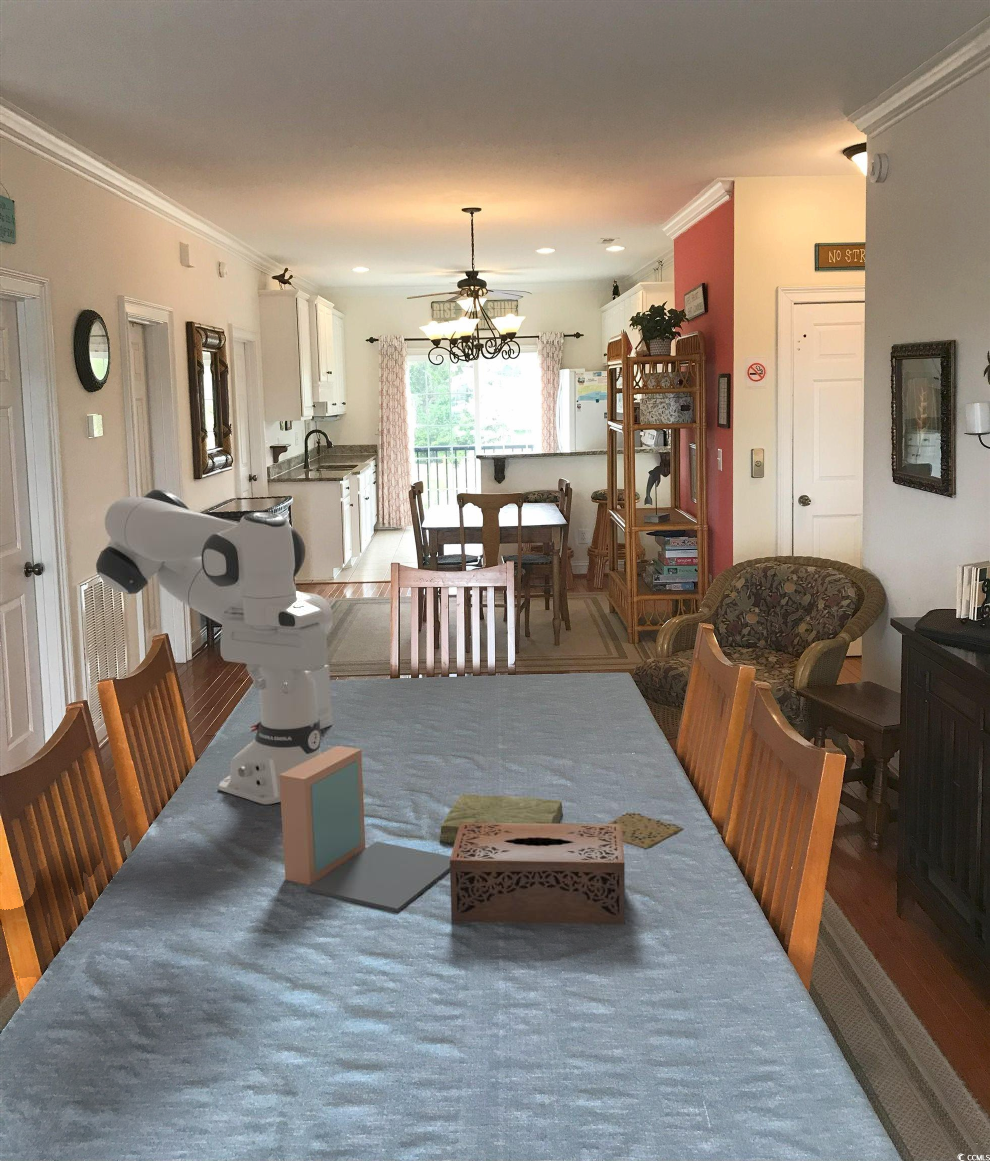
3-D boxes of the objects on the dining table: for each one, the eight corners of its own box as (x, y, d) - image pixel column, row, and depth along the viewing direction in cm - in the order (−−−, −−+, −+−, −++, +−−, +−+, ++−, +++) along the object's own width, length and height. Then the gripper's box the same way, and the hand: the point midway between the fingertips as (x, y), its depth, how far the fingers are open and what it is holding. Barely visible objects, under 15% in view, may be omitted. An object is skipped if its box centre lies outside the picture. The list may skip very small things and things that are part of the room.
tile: (285, 879, 178) (279, 774, 175) (341, 843, 192) (337, 745, 189) (311, 885, 176) (305, 779, 173) (366, 848, 190) (362, 749, 187)
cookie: (590, 833, 195) (590, 828, 195) (631, 814, 204) (631, 809, 204) (646, 852, 187) (646, 846, 187) (685, 831, 196) (685, 826, 195)
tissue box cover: (451, 923, 163) (449, 860, 161) (461, 880, 177) (460, 822, 175) (624, 926, 161) (624, 862, 159) (620, 883, 175) (620, 824, 173)
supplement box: (306, 719, 266) (303, 660, 264) (333, 725, 261) (330, 664, 259) (279, 729, 259) (276, 668, 257) (306, 735, 254) (302, 673, 251)
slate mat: (307, 891, 174) (307, 887, 174) (376, 844, 191) (376, 841, 191) (397, 912, 166) (397, 908, 166) (461, 861, 184) (461, 858, 183)
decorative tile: (459, 807, 209) (459, 790, 208) (563, 814, 205) (563, 796, 204) (434, 847, 191) (434, 828, 190) (547, 855, 187) (547, 835, 186)
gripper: (209, 609, 183) (214, 689, 185) (307, 619, 174) (312, 702, 176) (234, 602, 188) (239, 680, 191) (331, 611, 179) (334, 692, 181)
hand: (274, 691), depth 183 cm, fingers open, 5 cm apart
